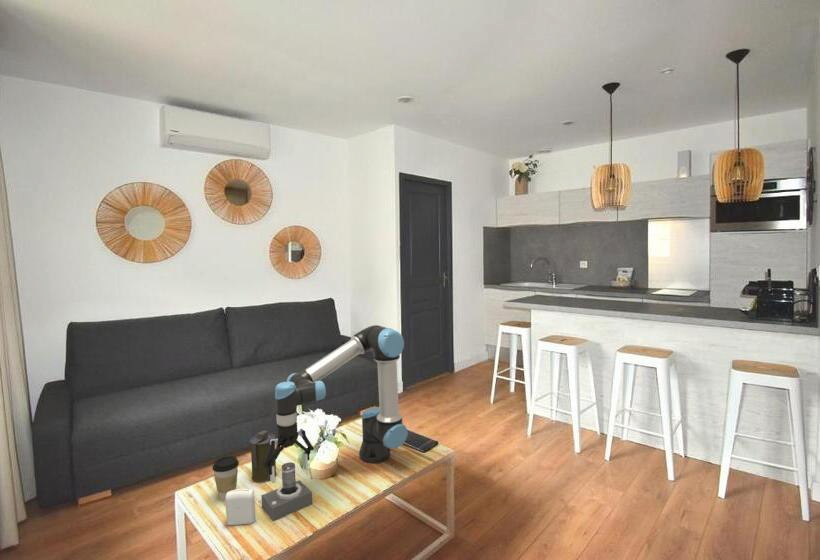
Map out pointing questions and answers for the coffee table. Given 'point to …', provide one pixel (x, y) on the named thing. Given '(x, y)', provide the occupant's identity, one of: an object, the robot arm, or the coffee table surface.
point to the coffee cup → (225, 475)
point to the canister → (260, 456)
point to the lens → (288, 478)
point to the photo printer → (240, 507)
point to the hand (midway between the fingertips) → (289, 475)
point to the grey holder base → (286, 501)
